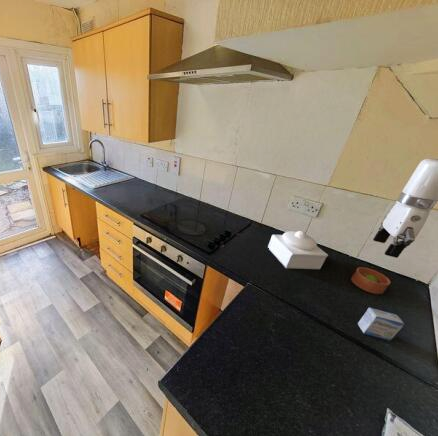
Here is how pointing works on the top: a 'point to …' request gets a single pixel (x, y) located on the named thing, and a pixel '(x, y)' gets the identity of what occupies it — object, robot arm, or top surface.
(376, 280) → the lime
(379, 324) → the medicine box
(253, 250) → the top surface
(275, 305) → the top surface
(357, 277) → the bowl
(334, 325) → the top surface
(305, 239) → the butter dish
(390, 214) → the robot arm
